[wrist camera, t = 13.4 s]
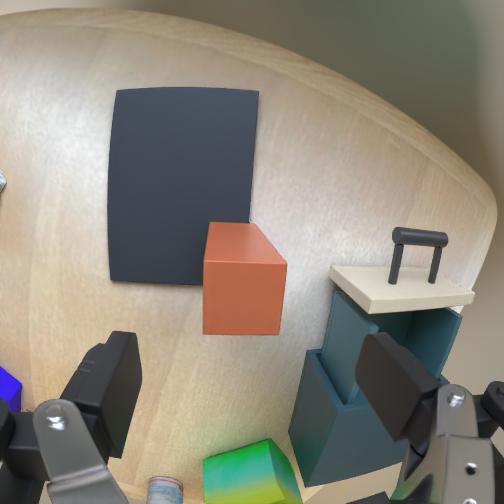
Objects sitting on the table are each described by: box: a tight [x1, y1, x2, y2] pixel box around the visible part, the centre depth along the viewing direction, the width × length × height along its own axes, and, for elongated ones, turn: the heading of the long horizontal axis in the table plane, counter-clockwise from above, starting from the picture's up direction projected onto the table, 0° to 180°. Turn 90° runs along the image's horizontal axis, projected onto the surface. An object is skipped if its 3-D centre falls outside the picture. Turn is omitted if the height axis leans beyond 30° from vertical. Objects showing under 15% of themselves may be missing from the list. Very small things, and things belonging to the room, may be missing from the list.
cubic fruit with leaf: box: [203, 438, 303, 504], centre depth 27 cm, size 11×10×15 cm
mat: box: [107, 87, 259, 285], centre depth 24 cm, size 18×13×1 cm
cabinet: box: [288, 349, 450, 488], centre depth 28 cm, size 15×14×10 cm
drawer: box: [320, 227, 475, 405], centre depth 25 cm, size 18×13×8 cm
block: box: [203, 222, 287, 335], centre depth 20 cm, size 4×4×12 cm
